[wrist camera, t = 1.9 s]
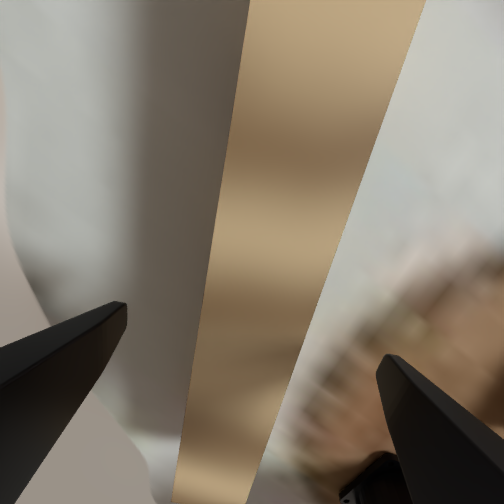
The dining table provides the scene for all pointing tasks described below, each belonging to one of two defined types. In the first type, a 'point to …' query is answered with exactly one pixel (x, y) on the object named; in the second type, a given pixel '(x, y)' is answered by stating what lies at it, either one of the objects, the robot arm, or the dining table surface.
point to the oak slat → (281, 218)
